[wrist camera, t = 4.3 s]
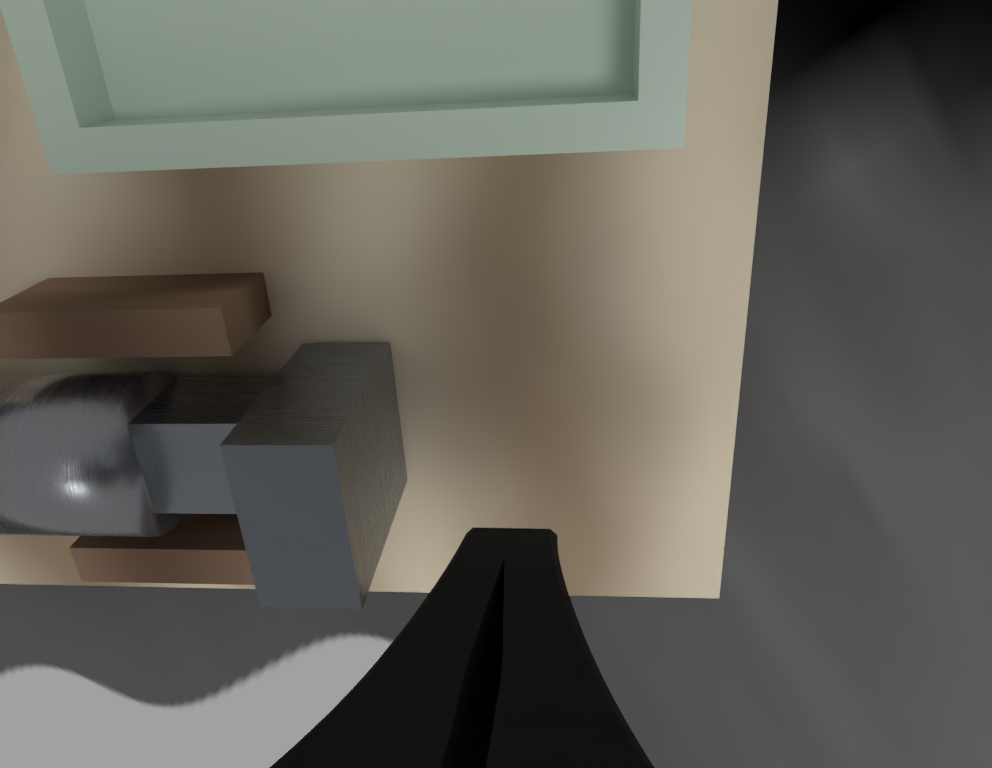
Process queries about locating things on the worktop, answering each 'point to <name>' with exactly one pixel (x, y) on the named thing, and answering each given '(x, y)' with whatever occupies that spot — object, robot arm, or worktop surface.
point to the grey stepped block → (287, 466)
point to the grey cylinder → (76, 454)
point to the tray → (347, 79)
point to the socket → (145, 333)
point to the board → (469, 315)
